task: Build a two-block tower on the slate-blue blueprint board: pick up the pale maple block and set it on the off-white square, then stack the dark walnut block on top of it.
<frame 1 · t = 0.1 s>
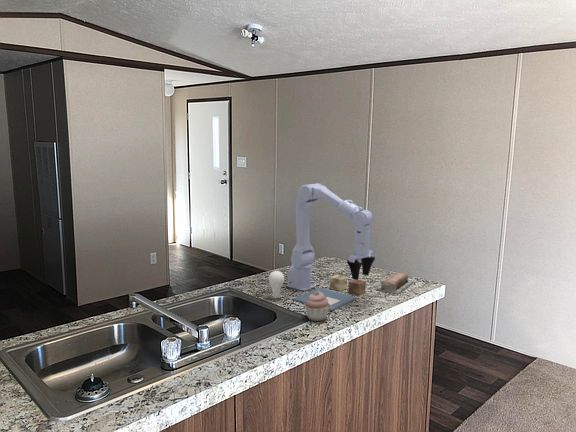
hand: (360, 277, 182), 10 cm above the worktop, tool pointing down, fingers open, 7 cm apart
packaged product: (395, 288, 204), on the worktop
blueprint board: (325, 299, 186), on the worktop
lightbulb: (276, 298, 187), on the worktop
cupcake: (316, 318, 167), on the worktop
walnut block: (356, 293, 195), on the worktop
maple block: (338, 288, 200), on the worktop
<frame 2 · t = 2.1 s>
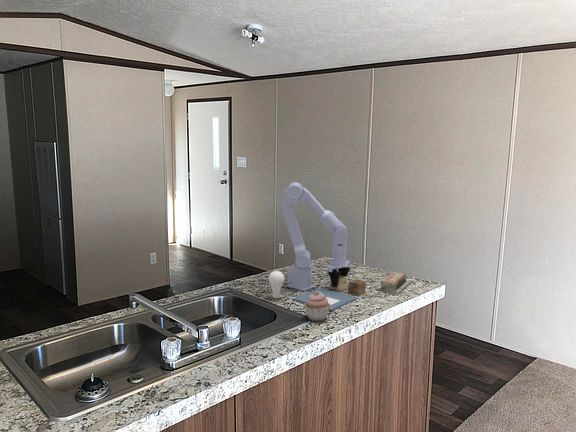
hand: (338, 285, 200), 1 cm above the worktop, tool pointing down, fingers closed on maple block, 5 cm apart
maple block: (338, 288, 200), on the worktop, touching gripper
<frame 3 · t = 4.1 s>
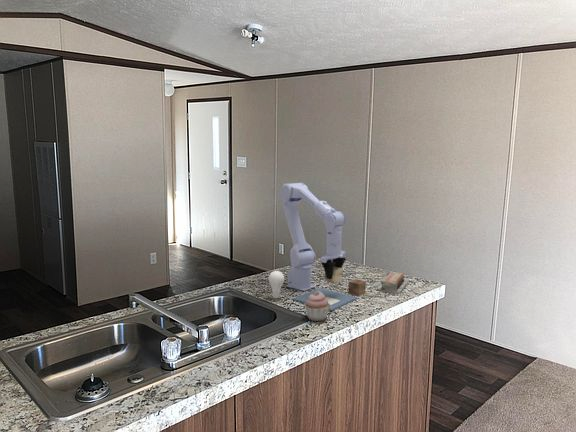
hand: (333, 277, 187), 8 cm above the worktop, tool pointing down, fingers closed on maple block, 5 cm apart
maple block: (333, 280, 187), point 7 cm above the worktop, touching gripper
when the fingers open (3 cm above the worktop, at t = 6.0 s): maple block drops 1 cm, resting on blueprint board.
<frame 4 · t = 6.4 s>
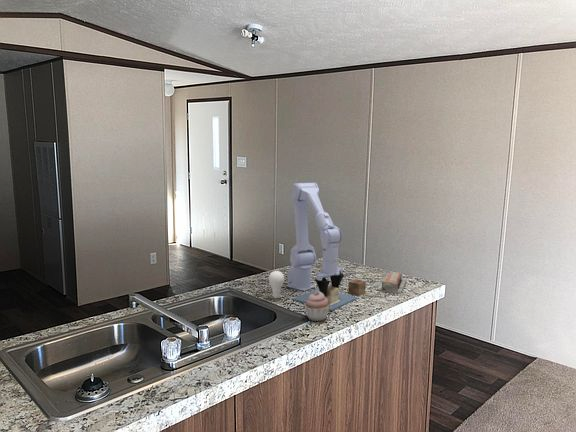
hand: (329, 294, 182), 3 cm above the worktop, tool pointing down, fingers open, 7 cm apart
maple block: (329, 300, 183), point 1 cm above the worktop, touching blueprint board
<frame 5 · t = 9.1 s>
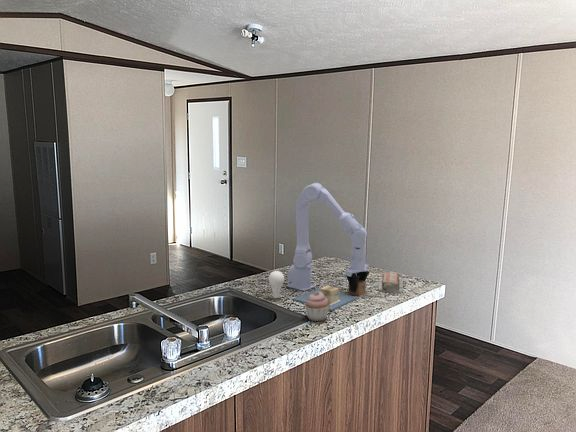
hand: (356, 289, 194), 1 cm above the worktop, tool pointing down, fingers closed on walnut block, 5 cm apart
walnut block: (356, 293, 195), on the worktop, touching gripper
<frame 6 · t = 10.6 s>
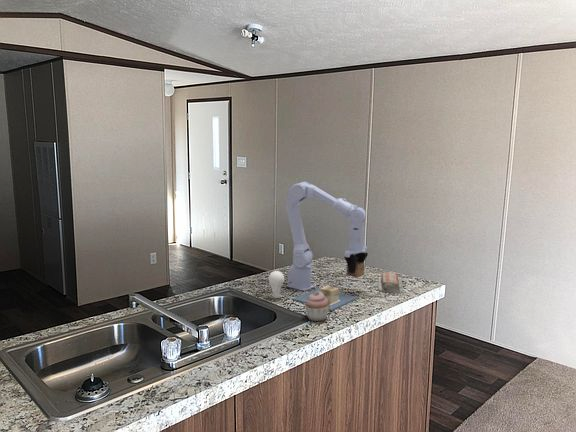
hand: (355, 271, 192), 9 cm above the worktop, tool pointing down, fingers closed on walnut block, 5 cm apart
walnut block: (355, 275, 192), point 8 cm above the worktop, touching gripper
when the fingers open (8 cm above the worktop, at t = 12.4 s): walnut block stays where it is, resting on maple block.
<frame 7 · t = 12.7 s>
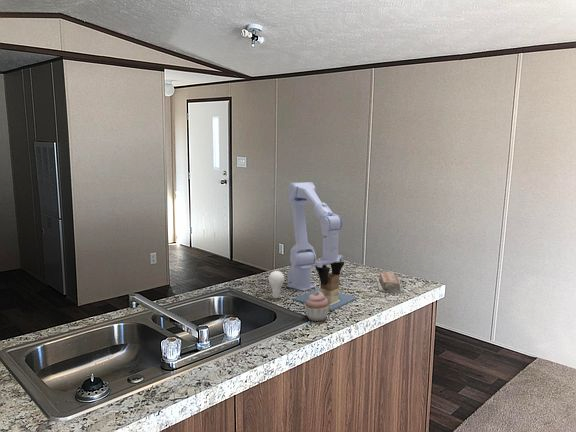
hand: (329, 282, 182), 8 cm above the worktop, tool pointing down, fingers open, 7 cm apart
walnut block: (329, 288, 182), point 6 cm above the worktop, touching maple block
maple block: (329, 300, 183), point 1 cm above the worktop, touching blueprint board, walnut block
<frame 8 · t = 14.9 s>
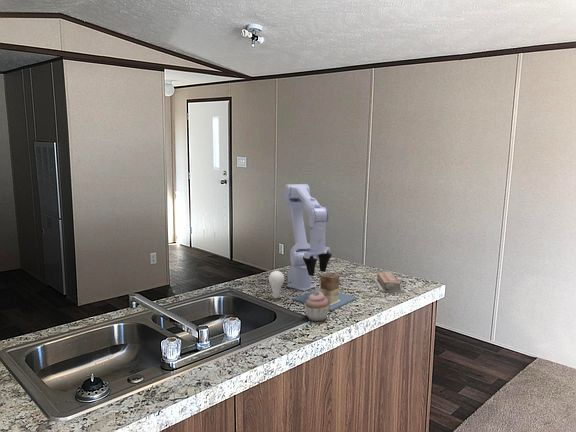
hand: (317, 273, 185), 10 cm above the worktop, tool pointing down, fingers open, 7 cm apart
at the end: maple block 0.1 cm from the target spot on the blueprint board, point 0.7 cm above the blueprint board's base; walnut block 0.0 cm from the maple block (horizontally); walnut block point 5.7 cm above the worktop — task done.
